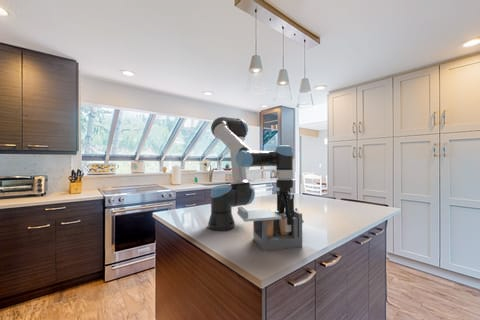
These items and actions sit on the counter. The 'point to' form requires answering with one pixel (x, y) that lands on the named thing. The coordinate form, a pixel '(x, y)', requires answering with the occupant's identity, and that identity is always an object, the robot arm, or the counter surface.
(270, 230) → the pin
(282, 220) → the pin
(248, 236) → the counter surface
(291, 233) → the housing
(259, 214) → the pale blue flat panel
